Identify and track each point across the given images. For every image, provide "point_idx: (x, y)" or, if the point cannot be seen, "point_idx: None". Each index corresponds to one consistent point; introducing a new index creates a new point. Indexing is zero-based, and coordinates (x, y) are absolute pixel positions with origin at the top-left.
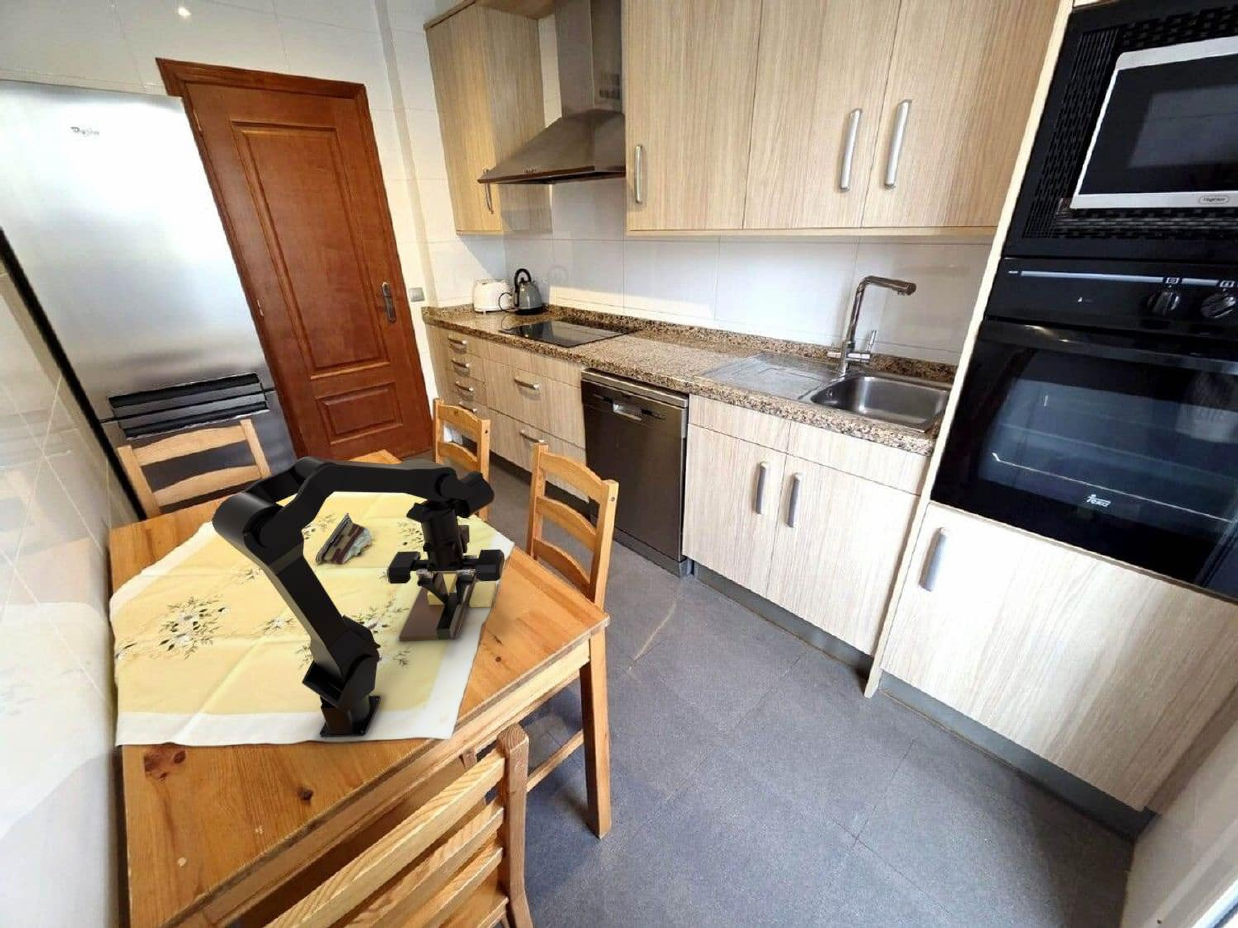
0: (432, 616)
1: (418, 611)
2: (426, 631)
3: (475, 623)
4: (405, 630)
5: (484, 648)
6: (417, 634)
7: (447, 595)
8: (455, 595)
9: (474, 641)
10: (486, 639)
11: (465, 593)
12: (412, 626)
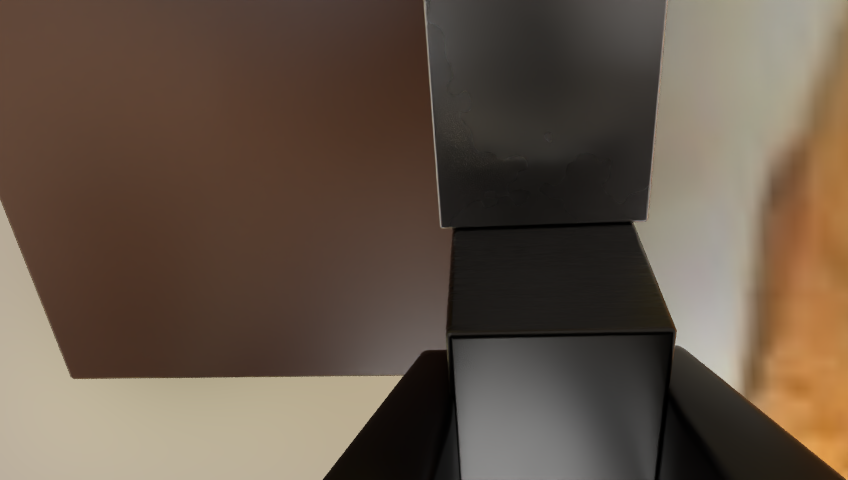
0: (235, 156)
1: (42, 85)
2: (272, 332)
3: (696, 169)
4: (80, 318)
5: (797, 422)
6: (212, 362)
7: (453, 452)
8: (581, 404)
9: (707, 362)
10: (813, 345)
11: (647, 55)
12: (113, 281)
